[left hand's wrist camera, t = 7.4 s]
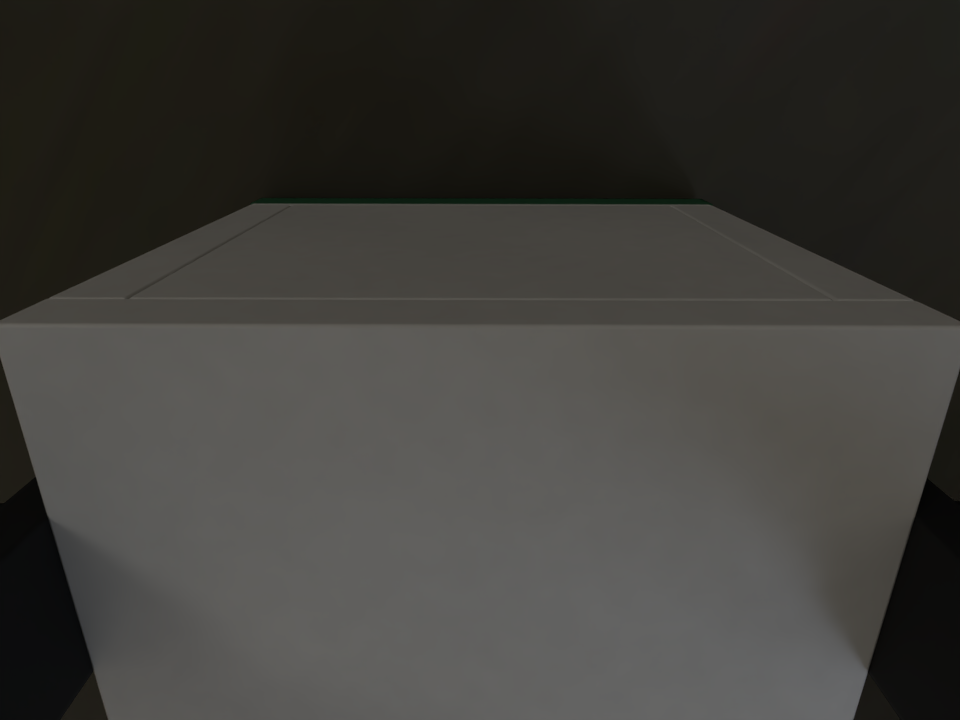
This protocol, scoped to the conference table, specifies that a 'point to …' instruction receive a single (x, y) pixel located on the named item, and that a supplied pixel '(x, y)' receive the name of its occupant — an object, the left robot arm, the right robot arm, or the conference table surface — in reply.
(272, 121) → the conference table surface
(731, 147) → the conference table surface
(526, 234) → the cabinet
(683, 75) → the conference table surface
